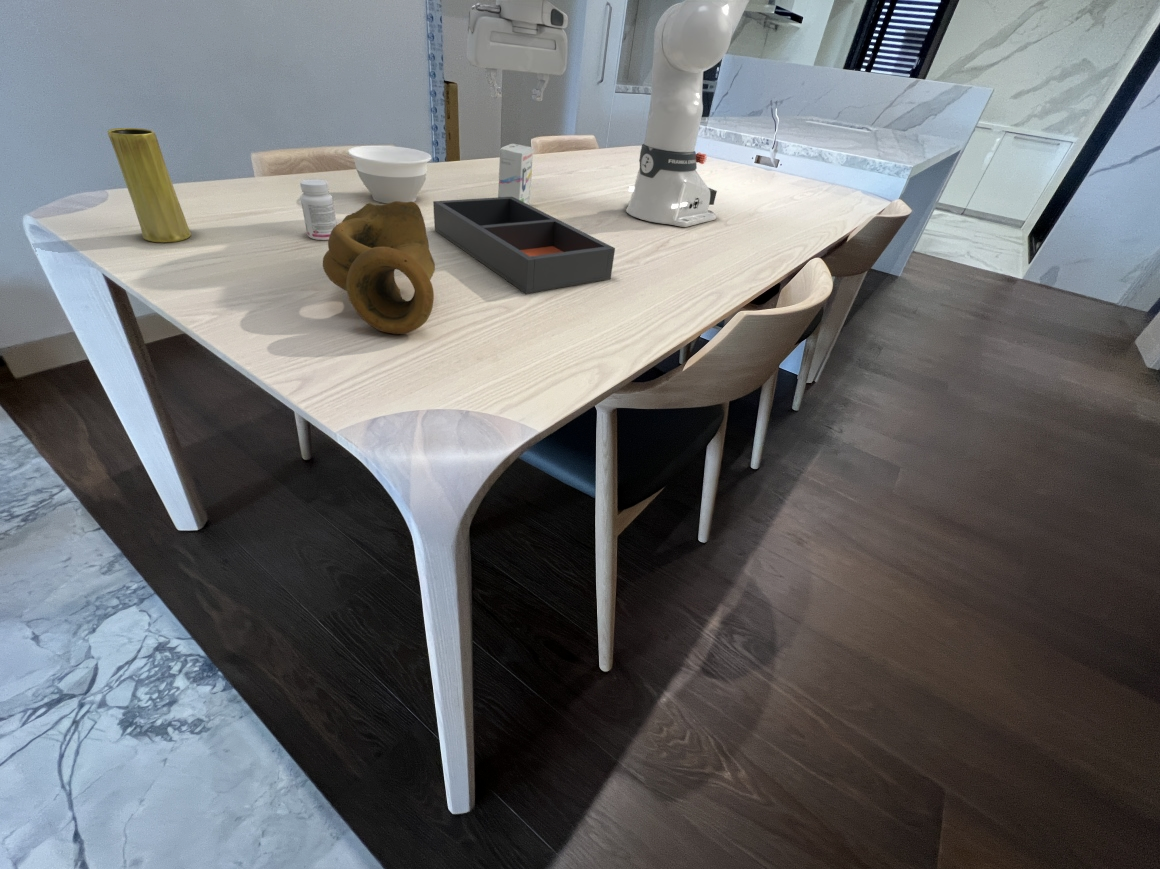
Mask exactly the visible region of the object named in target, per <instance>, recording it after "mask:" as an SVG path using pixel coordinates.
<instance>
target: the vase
mask: <svg viewBox="0 0 1160 869" xmlns="http://www.w3.org/2000/svg"><path fill="white" fill-rule="evenodd" d="M106 132H107V135H108V138H109V141H110V143H111V145H112V147H113V151H114V153H115V157H116V159H117V163H118V165H119V168H120V171H121V174H122V178H123V180H124V182H125V186H126V189H127V191H128V193H129V197H130V200H131V203H132V205H133V208H134V209H133V210H134V212H135V214H136V217H137V220H138V225H139V226H140V227H139V228H140V229H141V233H142V234H141V237H142V238H143V239H144V240H145V241H149V242H152V243H175V242H181V241H184V240H187V239H189V238H191V235H192V232H191V230H190V227H189V225H188V223H187V220H186V217H185V215H184V212H183V209H182V206H181V204H180V201H179V199H178V195H177V193H176V190H175V187H174V184H173V182H172V179H171V177H170V176H171V175H170V174H169V171H168V167H167V164H166V162H165V159H164V155H163V152H162V150H161V146H160V144H159V140H158V138H157V134H156V132H155V130H152V129H147V128H141V127H113V128H110V129H108V130H107V131H106Z"/></svg>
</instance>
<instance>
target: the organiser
mask: <svg viewBox="0 0 1160 869" xmlns="http://www.w3.org/2000/svg"><path fill="white" fill-rule="evenodd" d="M432 205H433V207H432V208H433V222H434V231H435V232H436V233H438V234H439V235H441V236H442V237H444V238H445V239H446V240H448V241H449V242H451V243H453V244H454V245H455V246H456V247H458V248H459V249H461V250H462V251H464V252H465V253H467V254H468V255H469V256H471V257H472V258H474V259H475V260H476V261H478V262H479V263H481V264H482V265H484V266H485V267H487V268H488V269H490V271H493V272H494V273H495V274H497V275H498V276H500V278H502V279H504V280H505V281H507V282H508V283H510V285H513V287H515V288H517V289H519V290H520V291H521V292H523V293H524V294H526V295H528V294H534V293H539V292H544V291H545V292H546V291H550V290H551V291H552V290H557V289H562V288H567V287H574V286H579V285H585V284H591V283H597V282H603V281H607V280H611V279H612V274H613V273H612V272H613V266H614V259H615V251H616V248H615V247H614V246H611V245H610V244H608V243H606V242H604V241H601V240H600V239H598V238H596V237H594V236H592V235H590V234H587V233H586V232H584V231H583V230H580V229H579V228H576V227H574V226H572V225H570V224H568V223H566V222H564V221H562V220H560V219H558V218H556V217H554V216H553V215H552V216H551V215H550V214H548V213H546V212H544V211H542V210H540V209H538V208H536V207H534V206H533V205H530V204H529V205H528V204H526V203H524V202H522V201H520V200H518V199H516V198H514V197H498V196H496V197H482V198H466V199H465V198H464V199H449V200H433V201H432Z"/></svg>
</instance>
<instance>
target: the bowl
mask: <svg viewBox="0 0 1160 869" xmlns="http://www.w3.org/2000/svg"><path fill="white" fill-rule="evenodd" d="M347 154H348V155H349V156H350V157H351V158H353V161H354V166H355V170H356V172H357V175H358V177H359V179H360V181H361V183H362V184H363V185H364V187H365V188H366V189H367V191H369V193H370V194H371V196H372V199H373V200H374V201H375V202H378V203H383V204H388V203H391V202H394V201H400V202H414V203H416V201H417V196H418V194H419V193H420V191H421V190H422V188H423V187H424V184H425V182H426V178H427V173H428V166H427V165H428V163H429V162H430V161H432V155H431V154H430V153H428V152H426V151H423V150H421V149H420V150H419V149H415V148H410V147H403V146H394V145H361V146H355V147H352V148H349V149H348V150H347Z"/></svg>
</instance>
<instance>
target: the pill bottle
mask: <svg viewBox="0 0 1160 869" xmlns="http://www.w3.org/2000/svg"><path fill="white" fill-rule="evenodd" d="M299 184H300V190H301V195H300V203H301V209H302V213H303V219H304V224H305V230H306V234H307V236H308V238H310V239H313V240H317V241H329V237H330V234H331V231H332V230H333V228H334V227H335V226H336V225H338V223H337V218H336V211H335V205H334V198H333V196H332V195H331V194H330V188H329V184H328V181H327V180H325V179H324V180H323V179H317V178H310V179H309V178H308V179H303V180H300V182H299Z"/></svg>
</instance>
